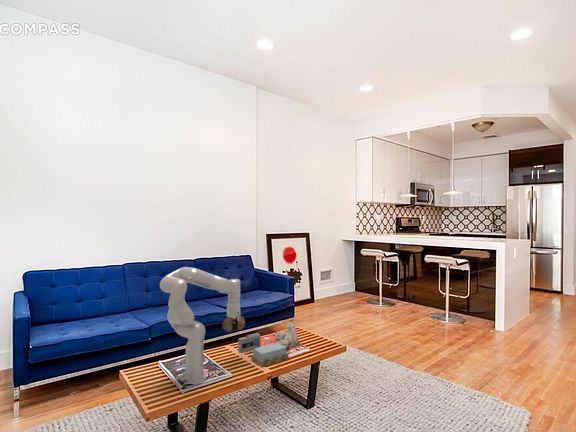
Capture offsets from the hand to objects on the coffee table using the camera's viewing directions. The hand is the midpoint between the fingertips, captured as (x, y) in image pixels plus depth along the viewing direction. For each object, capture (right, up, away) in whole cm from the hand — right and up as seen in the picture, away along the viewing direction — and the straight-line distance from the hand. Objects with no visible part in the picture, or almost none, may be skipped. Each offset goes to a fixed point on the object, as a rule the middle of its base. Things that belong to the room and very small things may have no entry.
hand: (233, 328), depth 212 cm
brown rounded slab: (0, -1, 0) cm, 1 cm away
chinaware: (+33, -21, +29) cm, 48 cm away
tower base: (+22, -21, +2) cm, 31 cm away
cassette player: (+8, -21, +18) cm, 29 cm away
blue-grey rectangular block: (+22, -17, +2) cm, 28 cm away
